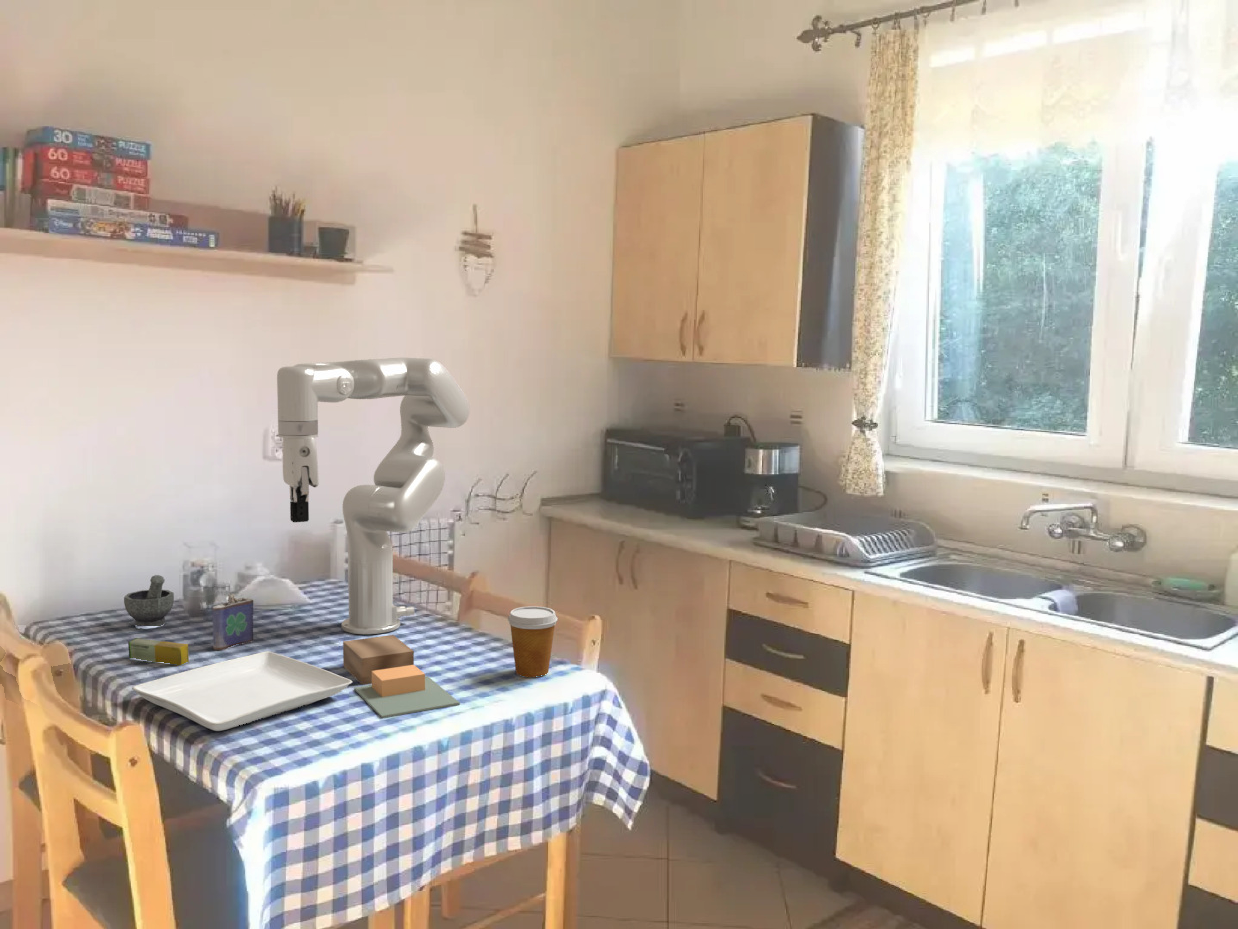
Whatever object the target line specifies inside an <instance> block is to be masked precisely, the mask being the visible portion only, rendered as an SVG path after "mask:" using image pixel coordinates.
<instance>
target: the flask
mask: <svg viewBox="0 0 1238 929" xmlns="http://www.w3.org/2000/svg"><path fill="white" fill-rule="evenodd" d="M225 596H226V597H227V598H228V599H227V602H224V603H221V604H217V605H215V606H214V605H213V606H212V608H211V609H212V610H211V612H212V649H213V650H214V651H217V650H218V651H220V650H223V649H224V650H227V649H229V648H228V647H231V646H233V645H236V644H240V645H241V644H242V643H244V644H248V643H252V642H251V641H253V640H254V600H253V599H251V598H250V597H249V598H247V597H246V598H245V597H240V598H235V594H234V593H228V594H226V595H225ZM247 642H248V643H247ZM253 642H254V641H253ZM242 645H243V644H242ZM231 648H232V647H231ZM224 650H223V651H224Z"/></svg>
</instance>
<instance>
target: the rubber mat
mask: <svg viewBox="0 0 1238 929" xmlns="http://www.w3.org/2000/svg"><path fill="white" fill-rule="evenodd" d="M353 688H354V691H355V692H356V693H357V694H358V695H359V697H361V698H362V700H364V702H366V704H368V705H369V706H370V708H371V709H372V710H373V711H374V712H375V713H376V714H377V715H378V716H379V717H380V718H381V719H385V718H390V717H391V718H392V717H397V716H402V715H409V714H413V713H420V711H421V712H425V711H426V712H427V711H431V710H437V709H438V710H439V709H442V708H449V707H455V706H458V705H459V706H460V705H461V704H460V701H459V700H457V699H456V698H455V697H453V695H451V694H450V693H448V691H446V690H445V689H444V688H443V687H441V686H440V685H439V684H438V683H436V682H435V681H434V680H433V679H432V678H431V677H429V675H425V690H422V691H416V692H410V693H403V694H397V695H391V696H385V697H382V696H381V695H380V694H379V693H378V692H376V691H375V690H374V689H373V688H372V684H369V685H368V684H366V685H362V686H361V685H360V686H357V687H356V686H355V687H353ZM454 705H455V706H454Z"/></svg>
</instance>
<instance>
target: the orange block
mask: <svg viewBox="0 0 1238 929" xmlns="http://www.w3.org/2000/svg"><path fill="white" fill-rule="evenodd" d="M425 676H426V673H424V672H423V671H422V670H421V669H419V668H418V667H417V666H416V665H415V664H414V665H408V666H402V667H395V668H388V669H382V670H375V671H372V683H371V685H372V688H373V689H374V690H375V691H376V692H378V693H379V694H380V695H381V696H382V697H385V696H391V695H397V694H403V693H410V692H416V691H422V690H425Z"/></svg>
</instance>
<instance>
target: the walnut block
mask: <svg viewBox="0 0 1238 929" xmlns="http://www.w3.org/2000/svg"><path fill="white" fill-rule="evenodd" d="M414 652H415V651H414V650H413V649H412V648H410V647H409V646H408V645H407V644H406V643H404V642H403V641H402V640H400V639H399V638H398V637H396V636H395V635H394V634H388V635H382V636H374V637H367V638H366V637H365V638H359V639H353V640H351V639H350V640H344V641H342V654H343V655H342V657H343V658H342V660H343V662H342V664H343V665H342V666H343V668H345V670H346V671H347V672H348V673H349V674H350V675H351V676H353V678H355V680H356V681H357V682H358V683H359V684H361V685H362V686H364V685H368V684H369V685H371V684H372V671H375V670H382V669H388V668H395V667H402V666H408V665H415V664H414V660H415V658H414V656H415V655H414V654H415V653H414Z"/></svg>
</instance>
